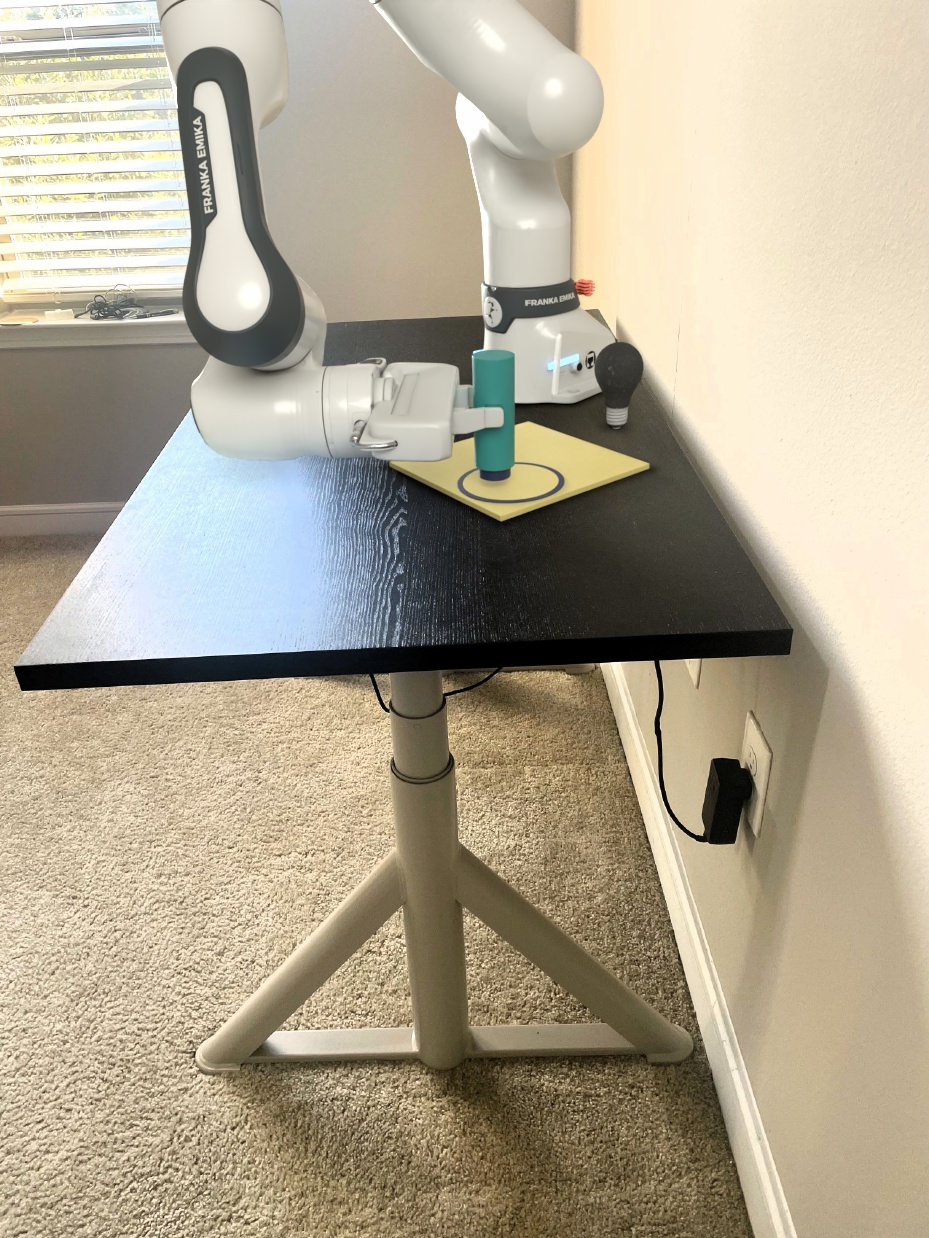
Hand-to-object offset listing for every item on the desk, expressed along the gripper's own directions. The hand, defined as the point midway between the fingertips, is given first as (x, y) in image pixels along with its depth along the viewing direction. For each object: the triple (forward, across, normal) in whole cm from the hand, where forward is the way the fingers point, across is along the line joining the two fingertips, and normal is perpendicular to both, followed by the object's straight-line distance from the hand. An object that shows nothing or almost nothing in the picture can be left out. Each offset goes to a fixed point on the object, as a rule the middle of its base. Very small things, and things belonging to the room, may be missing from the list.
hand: (503, 406), depth 83 cm
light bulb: (+13, +19, +9) cm, 25 cm away
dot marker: (-1, 0, +7) cm, 7 cm away
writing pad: (+1, +7, +9) cm, 11 cm away
